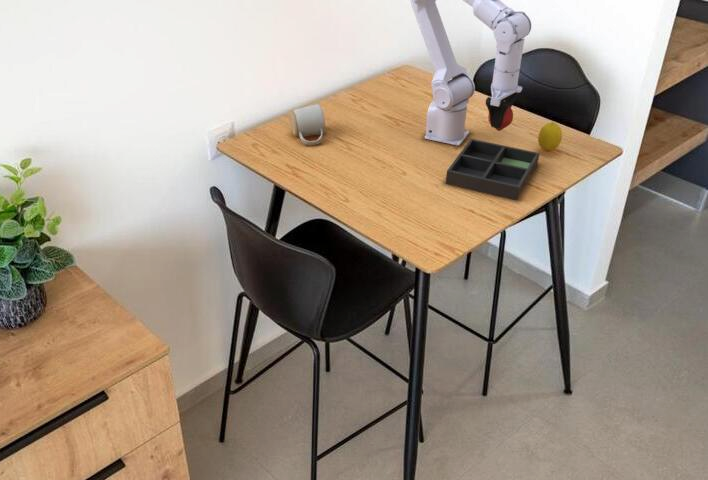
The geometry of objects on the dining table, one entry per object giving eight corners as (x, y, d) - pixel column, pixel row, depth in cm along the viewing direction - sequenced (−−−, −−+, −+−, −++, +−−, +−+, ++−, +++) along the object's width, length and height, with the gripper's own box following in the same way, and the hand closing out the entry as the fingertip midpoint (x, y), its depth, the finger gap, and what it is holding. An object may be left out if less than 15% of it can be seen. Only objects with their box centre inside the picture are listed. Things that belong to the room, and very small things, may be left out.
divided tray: (445, 183, 181) (446, 170, 179) (469, 150, 192) (470, 138, 190) (517, 200, 174) (519, 187, 172) (537, 165, 186) (539, 153, 184)
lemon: (559, 157, 188) (565, 128, 183) (536, 156, 189) (541, 127, 184) (558, 146, 192) (563, 117, 187) (535, 145, 193) (540, 116, 188)
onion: (483, 125, 188) (487, 95, 183) (506, 123, 188) (510, 93, 183) (490, 136, 183) (494, 106, 178) (514, 134, 184) (518, 104, 179)
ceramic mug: (289, 129, 204) (287, 103, 200) (318, 125, 206) (317, 98, 201) (299, 149, 197) (298, 122, 192) (329, 144, 198) (329, 117, 193)
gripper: (515, 83, 169) (507, 137, 178) (532, 58, 179) (524, 111, 188) (484, 77, 172) (477, 131, 181) (503, 53, 182) (495, 106, 190)
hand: (499, 121), depth 184 cm, fingers closed on onion, 6 cm apart
